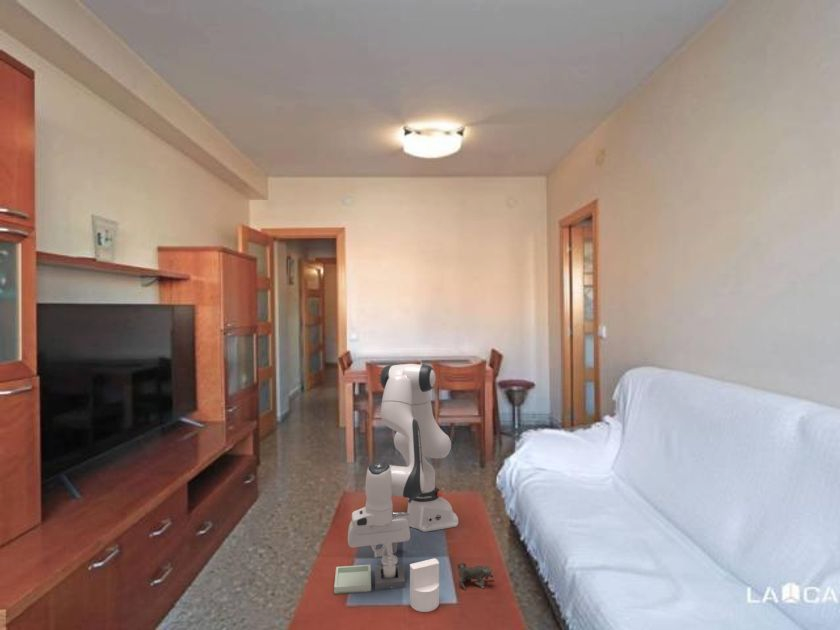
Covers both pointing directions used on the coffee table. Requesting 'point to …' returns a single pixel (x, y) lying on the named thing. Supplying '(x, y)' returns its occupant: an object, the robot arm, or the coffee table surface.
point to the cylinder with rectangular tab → (424, 585)
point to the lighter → (394, 546)
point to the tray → (352, 579)
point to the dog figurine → (474, 574)
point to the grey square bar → (389, 554)
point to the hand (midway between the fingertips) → (379, 556)
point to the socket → (390, 582)
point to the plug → (389, 568)
